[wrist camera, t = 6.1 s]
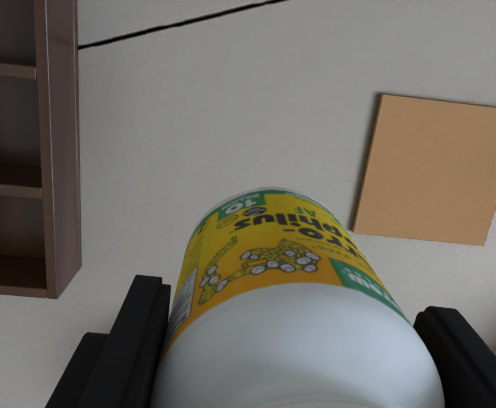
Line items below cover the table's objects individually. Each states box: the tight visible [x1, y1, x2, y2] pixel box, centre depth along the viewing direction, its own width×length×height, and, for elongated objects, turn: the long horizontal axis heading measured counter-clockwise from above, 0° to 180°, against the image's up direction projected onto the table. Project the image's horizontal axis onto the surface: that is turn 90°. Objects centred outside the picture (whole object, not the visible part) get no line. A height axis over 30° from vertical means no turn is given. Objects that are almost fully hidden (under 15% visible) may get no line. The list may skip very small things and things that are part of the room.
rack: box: [0, 0, 82, 299], centre depth 26 cm, size 8×21×5 cm, turn 173°
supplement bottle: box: [149, 187, 445, 408], centre depth 10 cm, size 5×5×10 cm
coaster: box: [352, 94, 496, 246], centre depth 30 cm, size 10×10×1 cm
